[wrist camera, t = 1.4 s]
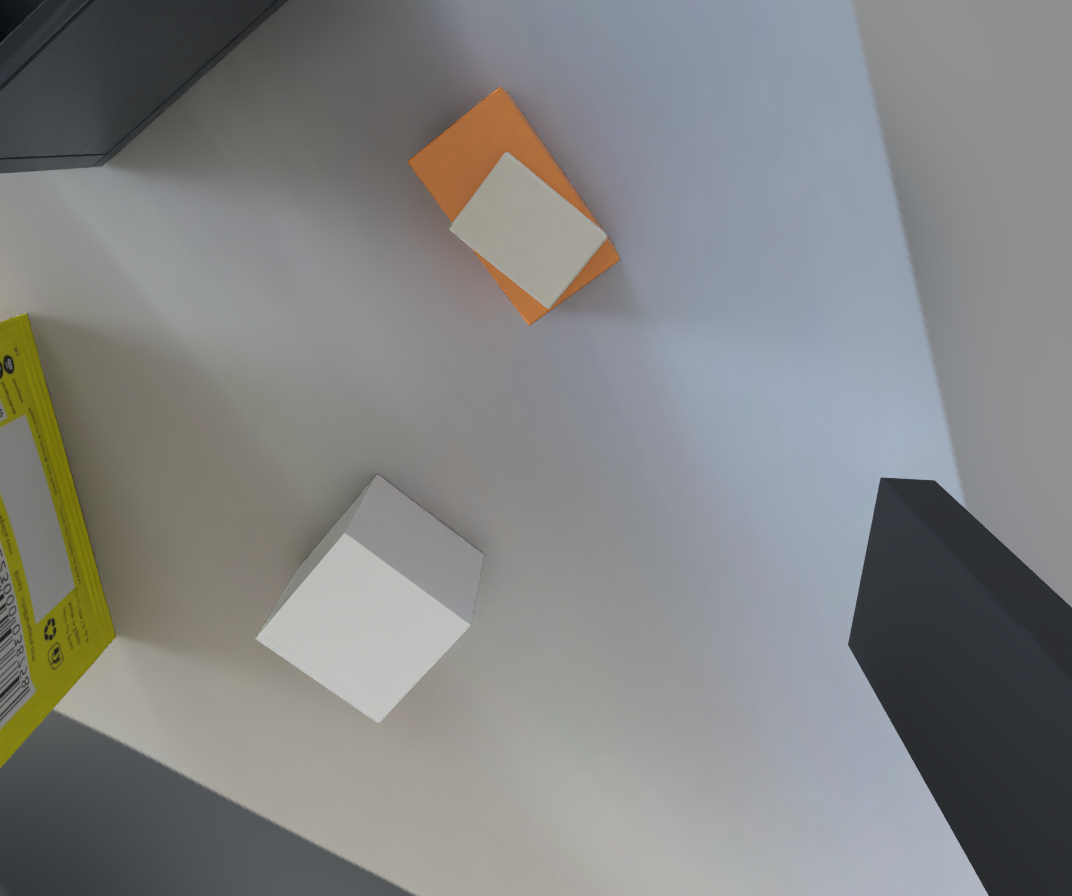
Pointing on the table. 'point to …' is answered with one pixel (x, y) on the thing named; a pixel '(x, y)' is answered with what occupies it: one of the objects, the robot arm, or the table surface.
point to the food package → (40, 552)
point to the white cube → (376, 601)
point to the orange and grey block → (514, 206)
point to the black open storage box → (103, 71)
